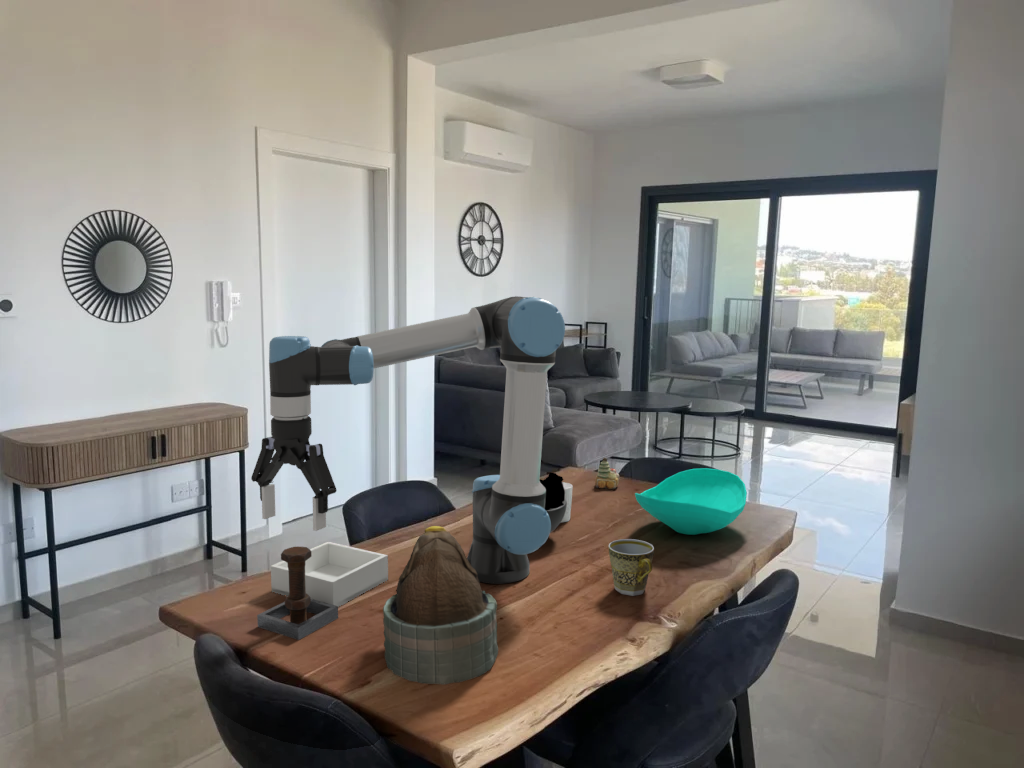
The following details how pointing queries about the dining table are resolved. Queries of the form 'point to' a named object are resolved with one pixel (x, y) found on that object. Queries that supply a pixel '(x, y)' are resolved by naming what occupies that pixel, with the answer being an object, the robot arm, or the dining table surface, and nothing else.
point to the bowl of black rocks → (554, 499)
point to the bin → (335, 573)
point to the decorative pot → (439, 616)
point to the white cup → (568, 499)
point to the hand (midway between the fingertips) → (293, 523)
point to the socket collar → (298, 631)
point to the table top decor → (696, 500)
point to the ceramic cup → (630, 565)
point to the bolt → (297, 583)
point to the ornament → (606, 476)
